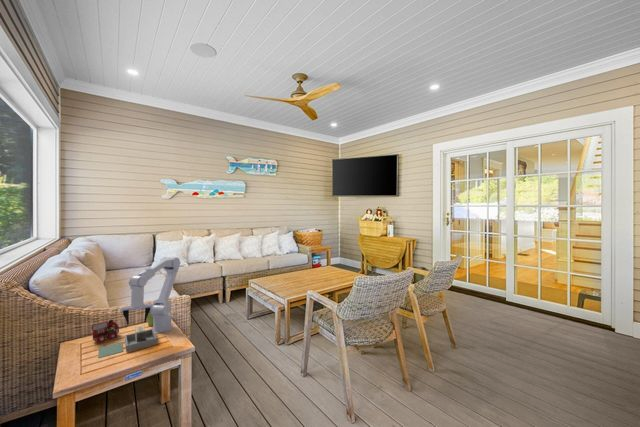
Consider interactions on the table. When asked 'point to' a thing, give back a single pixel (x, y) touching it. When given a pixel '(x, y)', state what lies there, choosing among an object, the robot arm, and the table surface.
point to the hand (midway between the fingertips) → (136, 323)
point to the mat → (110, 350)
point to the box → (140, 334)
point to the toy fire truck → (104, 331)
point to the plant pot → (150, 319)
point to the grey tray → (150, 340)
